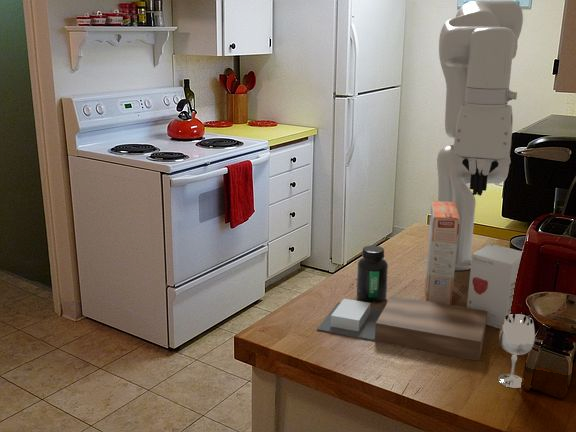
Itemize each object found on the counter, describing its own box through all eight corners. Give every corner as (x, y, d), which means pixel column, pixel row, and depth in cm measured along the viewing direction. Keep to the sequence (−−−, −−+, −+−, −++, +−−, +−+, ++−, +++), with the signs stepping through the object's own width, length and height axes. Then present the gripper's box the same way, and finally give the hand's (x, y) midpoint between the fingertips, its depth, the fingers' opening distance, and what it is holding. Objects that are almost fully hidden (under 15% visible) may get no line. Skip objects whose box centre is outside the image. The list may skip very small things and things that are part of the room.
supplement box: (464, 318, 132) (470, 252, 127) (482, 304, 138) (489, 242, 134) (504, 331, 126) (512, 263, 121) (522, 317, 132) (530, 252, 128)
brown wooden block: (390, 312, 134) (391, 295, 133) (485, 328, 127) (487, 311, 126) (374, 341, 122) (375, 322, 121) (479, 360, 114) (480, 341, 113)
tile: (370, 302, 132) (370, 313, 133) (343, 298, 134) (343, 308, 135) (359, 320, 124) (358, 331, 125) (331, 315, 126) (330, 326, 127)
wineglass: (489, 373, 110) (495, 312, 107) (519, 371, 111) (527, 311, 107) (502, 391, 105) (509, 327, 101) (534, 389, 105) (543, 326, 102)
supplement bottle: (378, 306, 137) (381, 256, 134) (351, 299, 141) (353, 250, 137) (390, 295, 143) (393, 247, 139) (364, 289, 146) (366, 242, 143)
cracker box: (452, 307, 136) (460, 218, 130) (425, 305, 138) (431, 216, 132) (449, 283, 150) (456, 201, 144) (424, 281, 151) (430, 199, 145)
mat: (337, 303, 139) (337, 302, 138) (390, 312, 134) (390, 311, 134) (317, 330, 126) (317, 328, 126) (373, 340, 122) (373, 339, 122)
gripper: (530, 97, 113) (519, 192, 119) (448, 94, 119) (441, 185, 124) (529, 101, 107) (517, 202, 112) (442, 97, 112) (435, 194, 118)
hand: (477, 193), depth 118 cm, fingers closed
